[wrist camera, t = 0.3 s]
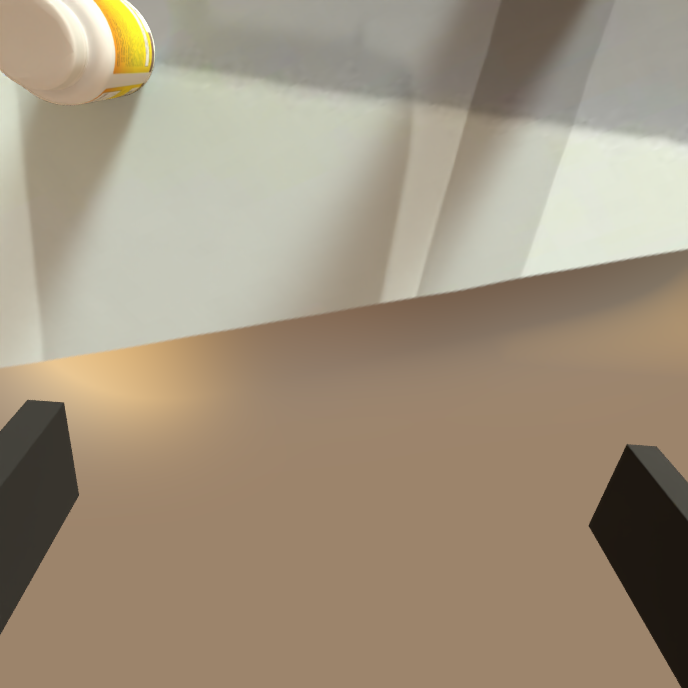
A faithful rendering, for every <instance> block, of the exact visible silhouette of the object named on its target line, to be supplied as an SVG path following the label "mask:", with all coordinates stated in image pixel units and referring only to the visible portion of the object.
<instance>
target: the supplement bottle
mask: <svg viewBox="0 0 688 688" xmlns="http://www.w3.org/2000/svg"><path fill="white" fill-rule="evenodd" d="M154 62H155V47H154V40H153V37H152V34H151V31H150V29H149V27H148V25H147V23H146V21H145V20H144V18H143V17H142V15H141V14H140V13H139V11H138V10H137V9H136V8H135V7H134V6H133V5H131V4H130V3H129V2H128V1H126V0H0V70H1V71H2V72H3V73H4V74H5V75H6V76H7V77H9V78H10V79H11V80H13V81H14V82H16V83H18V84H19V85H22V86H23V87H24V88H25V89H26V90H28V91H29V92H31V93H32V94H34V95H35V96H37V97H39V98H41V99H43V100H45V101H48V102H51V103H55V104H59V105H80V104H85V103H90V102H95V101H101V100H107V99H111V98H117V97H121V96H126V95H129V94H132V93H134V92H136V91H137V90H139V89H140V88H141V87H142V86H144V84H145V83H146V82H147V81H148V79H149V77H150V75H151V73H152V71H153V67H154Z"/></svg>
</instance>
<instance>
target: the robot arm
mask: <svg viewBox="0 0 688 688" xmlns="http://www.w3.org/2000/svg"><path fill="white" fill-rule="evenodd" d="M78 496H79V493H78V486H77V481H76V474H75V468H74V461H73V455H72V449H71V443H70V437H69V431H68V425H67V418H66V413H65V406H64V403H62V402H49V401H36V400H27V401H26V402H25V404H24V405H23V406H22V407H21V408H20V409H19V410H18V412H17V413H16V414H15V415H14V416H13V417H12V418H11V420H10V421H9V422H8V423H7V424H6V426H4V428H3V429H2V430H1V431H0V634H1V632H2V631H3V629H4V627H5V625H6V624H7V622H8V620H9V618H10V617H11V615H12V613H13V611H14V609H15V608H16V606H17V604H18V602H19V601H20V599H21V597H22V595H23V593H24V592H25V590H26V588H27V586H28V585H29V583H30V581H31V579H32V578H33V576H34V574H35V572H36V570H37V569H38V567H39V565H40V563H41V562H42V560H43V558H44V556H45V554H46V553H47V551H48V549H49V547H50V546H51V544H52V542H53V540H54V539H55V537H56V535H57V533H58V531H59V530H60V528H61V526H62V524H63V523H64V521H65V519H66V517H67V516H68V514H69V512H70V510H71V508H72V507H73V505H74V503H75V501H76V500H77V498H78ZM589 527H590V529H591V531H592V532H593V534H594V536H595V538H596V539H597V541H598V543H599V545H600V546H601V548H602V550H603V551H604V553H605V555H606V557H607V559H608V560H609V562H610V564H611V566H612V567H613V569H614V571H615V572H616V574H617V576H618V578H619V579H620V581H621V583H622V584H623V586H624V588H625V590H626V592H627V593H628V595H629V597H630V599H631V600H632V602H633V604H634V606H635V607H636V609H637V611H638V613H639V614H640V616H641V618H642V620H643V621H644V623H645V625H646V627H647V628H648V630H649V632H650V634H651V635H652V637H653V639H654V640H655V642H656V644H657V646H658V648H659V649H660V651H661V653H662V655H663V656H664V658H665V660H666V661H667V663H668V665H669V667H670V668H671V670H672V672H673V674H674V675H675V677H676V678H677V681H678V682H679V684H680V686H681V688H688V482H687V481H686V480H685V479H684V478H683V476H682V475H681V474H680V473H679V472H678V471H677V470H676V468H675V467H674V466H673V465H672V464H671V463H670V461H669V460H668V459H667V458H666V457H665V456H664V454H662V452H661V451H660V450H659V449H658V448H657V447H655V446H642V445H628V444H627V445H626V448H625V449H624V452H623V454H622V456H621V458H620V460H619V462H618V464H617V466H616V468H615V471H614V473H613V475H612V477H611V479H610V481H609V483H608V485H607V488H606V490H605V492H604V494H603V496H602V498H601V500H600V503H599V505H598V507H597V509H596V511H595V513H594V515H593V517H592V519H591V522H590V524H589Z"/></svg>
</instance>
